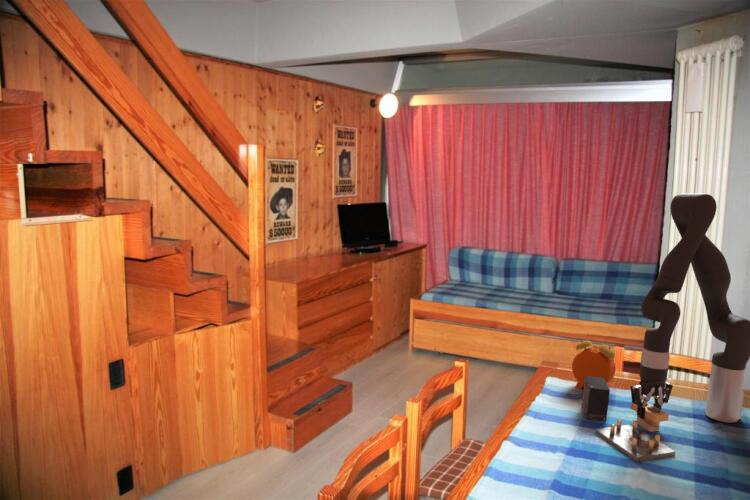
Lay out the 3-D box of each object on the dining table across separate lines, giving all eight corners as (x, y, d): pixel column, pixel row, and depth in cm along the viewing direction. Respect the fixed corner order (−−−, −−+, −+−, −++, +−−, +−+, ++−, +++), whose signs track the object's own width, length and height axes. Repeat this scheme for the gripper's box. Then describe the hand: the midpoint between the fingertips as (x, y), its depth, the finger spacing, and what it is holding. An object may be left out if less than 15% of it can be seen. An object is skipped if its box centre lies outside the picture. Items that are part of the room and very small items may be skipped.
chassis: (631, 427, 180) (632, 414, 179) (674, 455, 164) (676, 441, 163) (595, 432, 176) (596, 419, 175) (636, 461, 160) (637, 447, 159)
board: (643, 406, 186) (644, 398, 185) (667, 420, 176) (668, 412, 176) (630, 408, 184) (631, 400, 184) (654, 422, 175) (655, 414, 174)
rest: (644, 421, 184) (645, 409, 183) (658, 430, 178) (660, 418, 178) (636, 422, 183) (637, 410, 183) (650, 431, 178) (652, 419, 177)
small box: (607, 422, 183) (611, 389, 182) (585, 419, 185) (588, 387, 183) (602, 407, 194) (605, 377, 192) (581, 405, 195) (584, 375, 193)
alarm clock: (613, 392, 207) (619, 337, 203) (607, 397, 202) (612, 340, 199) (576, 381, 215) (581, 328, 212) (569, 386, 211) (574, 332, 207)
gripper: (664, 357, 183) (658, 409, 186) (625, 361, 179) (620, 414, 182) (683, 366, 176) (676, 419, 179) (643, 369, 172) (637, 425, 175)
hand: (648, 416), depth 180 cm, fingers closed on board, 5 cm apart
